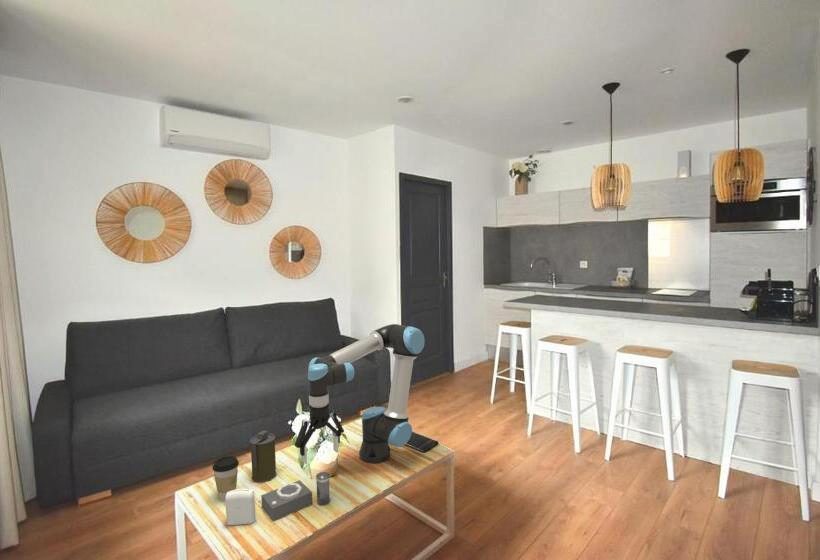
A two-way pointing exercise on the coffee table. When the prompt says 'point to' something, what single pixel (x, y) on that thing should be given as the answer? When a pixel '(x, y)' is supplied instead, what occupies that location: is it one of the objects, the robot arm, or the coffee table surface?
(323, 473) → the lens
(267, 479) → the canister
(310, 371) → the robot arm
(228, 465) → the coffee cup
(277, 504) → the grey holder base
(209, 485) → the coffee table surface
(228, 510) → the photo printer
